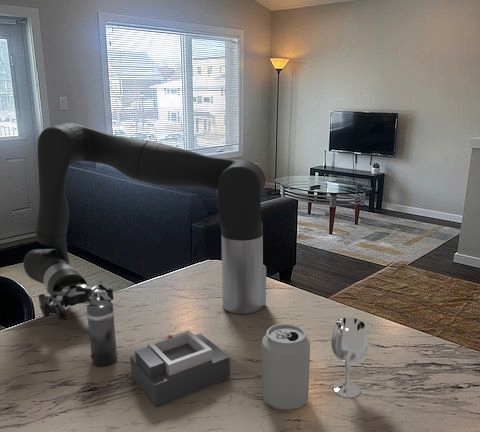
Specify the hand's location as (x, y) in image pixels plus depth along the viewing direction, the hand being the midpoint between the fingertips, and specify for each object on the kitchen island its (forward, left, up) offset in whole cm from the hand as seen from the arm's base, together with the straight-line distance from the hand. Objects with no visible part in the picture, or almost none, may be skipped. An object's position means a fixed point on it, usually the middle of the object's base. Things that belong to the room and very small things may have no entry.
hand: (87, 310), depth 94 cm
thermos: (0, +9, -7) cm, 11 cm away
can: (-20, +37, -7) cm, 42 cm away
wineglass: (-30, +41, -7) cm, 51 cm away
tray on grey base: (-9, +22, -7) cm, 25 cm away
